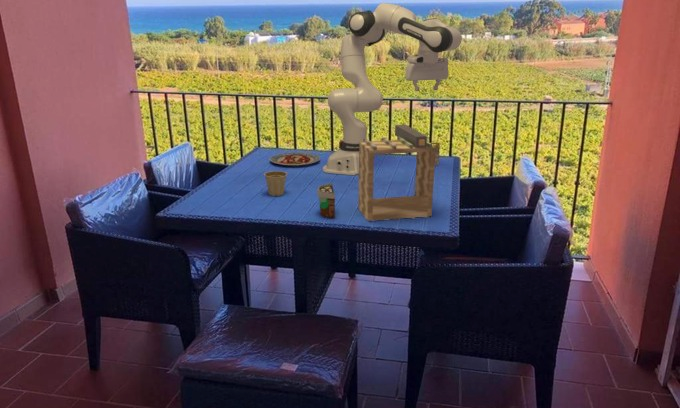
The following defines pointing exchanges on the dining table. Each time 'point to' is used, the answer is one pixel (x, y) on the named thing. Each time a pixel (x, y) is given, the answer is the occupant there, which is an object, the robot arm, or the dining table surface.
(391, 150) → the pine shelf
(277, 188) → the flower pot
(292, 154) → the ceramic plate
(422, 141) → the grey brown bar
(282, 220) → the dining table surface
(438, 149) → the crayon box
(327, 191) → the food container
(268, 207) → the dining table surface
